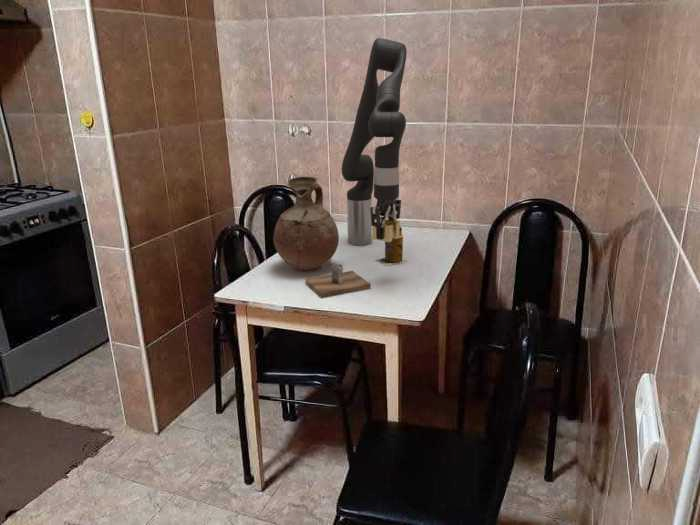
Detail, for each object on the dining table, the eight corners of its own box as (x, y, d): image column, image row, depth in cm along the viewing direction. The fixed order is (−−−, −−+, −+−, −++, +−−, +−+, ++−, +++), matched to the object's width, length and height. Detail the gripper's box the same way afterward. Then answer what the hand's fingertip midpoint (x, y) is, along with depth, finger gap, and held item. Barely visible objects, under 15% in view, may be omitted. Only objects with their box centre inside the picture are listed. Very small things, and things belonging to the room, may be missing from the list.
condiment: (407, 261, 184) (408, 227, 180) (388, 266, 179) (388, 231, 175) (394, 256, 190) (394, 223, 186) (375, 260, 185) (375, 227, 181)
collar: (372, 239, 163) (372, 223, 161) (382, 234, 167) (382, 218, 166) (389, 242, 159) (389, 226, 158) (399, 237, 164) (399, 221, 162)
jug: (263, 274, 174) (256, 183, 164) (292, 254, 193) (288, 171, 183) (325, 281, 167) (321, 186, 157) (348, 260, 186) (347, 174, 176)
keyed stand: (305, 283, 166) (304, 263, 163) (352, 275, 172) (352, 255, 170) (321, 297, 154) (320, 276, 152) (370, 288, 161) (370, 268, 158)
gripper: (384, 187, 150) (383, 244, 156) (409, 179, 161) (408, 232, 167) (362, 184, 154) (362, 240, 160) (388, 176, 165) (387, 229, 171)
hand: (385, 236), depth 163 cm, fingers closed on collar, 6 cm apart
